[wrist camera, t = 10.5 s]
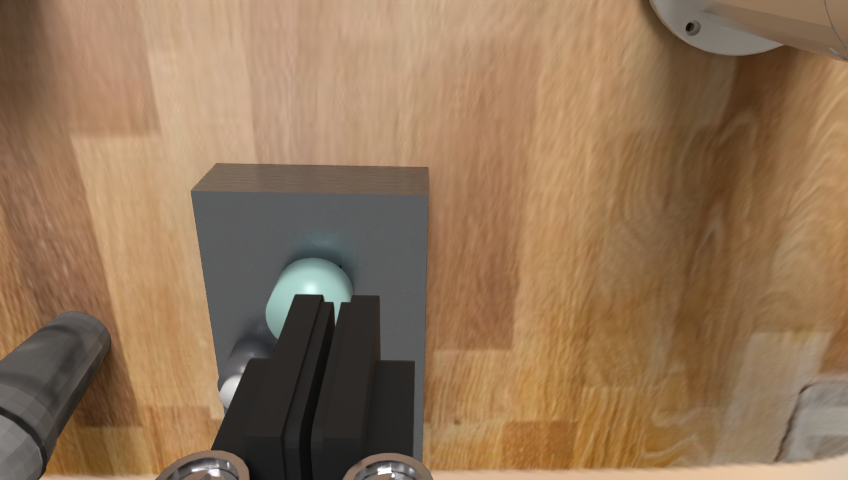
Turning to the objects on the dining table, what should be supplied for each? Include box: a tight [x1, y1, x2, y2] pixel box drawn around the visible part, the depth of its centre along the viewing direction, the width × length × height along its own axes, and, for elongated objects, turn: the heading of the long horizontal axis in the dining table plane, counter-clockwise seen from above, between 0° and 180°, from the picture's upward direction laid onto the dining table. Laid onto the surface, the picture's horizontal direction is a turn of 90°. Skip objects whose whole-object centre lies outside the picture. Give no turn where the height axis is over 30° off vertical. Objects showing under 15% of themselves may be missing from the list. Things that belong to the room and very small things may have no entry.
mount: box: [191, 163, 428, 463], centre depth 44 cm, size 14×24×5 cm, turn 179°
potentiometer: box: [218, 340, 273, 408], centre depth 40 cm, size 3×3×4 cm
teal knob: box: [266, 258, 353, 339], centre depth 40 cm, size 5×5×8 cm
